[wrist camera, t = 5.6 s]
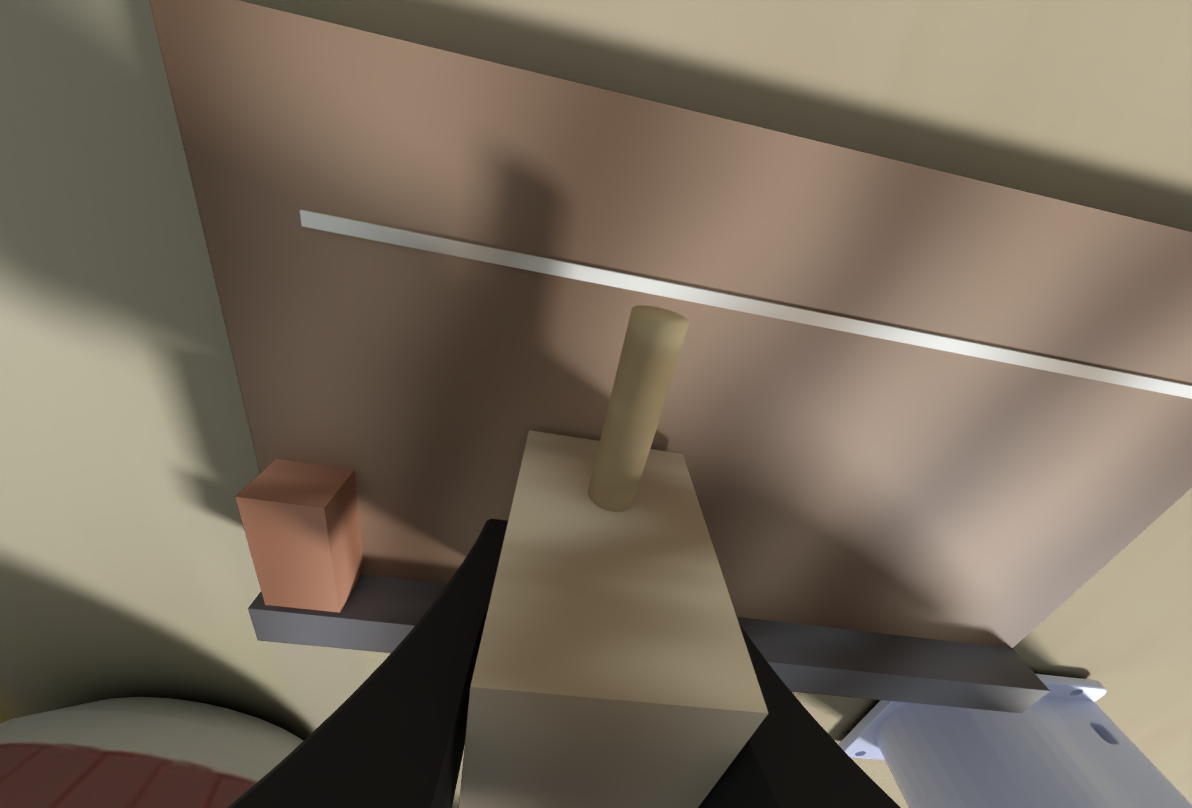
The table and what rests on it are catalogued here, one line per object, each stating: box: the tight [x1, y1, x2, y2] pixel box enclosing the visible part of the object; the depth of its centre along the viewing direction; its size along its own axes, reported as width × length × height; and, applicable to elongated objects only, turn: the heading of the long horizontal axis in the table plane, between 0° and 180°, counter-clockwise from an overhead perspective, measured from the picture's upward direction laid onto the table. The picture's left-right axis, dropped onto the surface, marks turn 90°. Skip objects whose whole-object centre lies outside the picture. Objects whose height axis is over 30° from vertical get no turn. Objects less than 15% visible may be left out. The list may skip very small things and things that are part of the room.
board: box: [150, 0, 1192, 713], centre depth 12 cm, size 26×16×3 cm, turn 79°
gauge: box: [459, 305, 768, 808], centre depth 9 cm, size 4×10×6 cm, turn 169°
